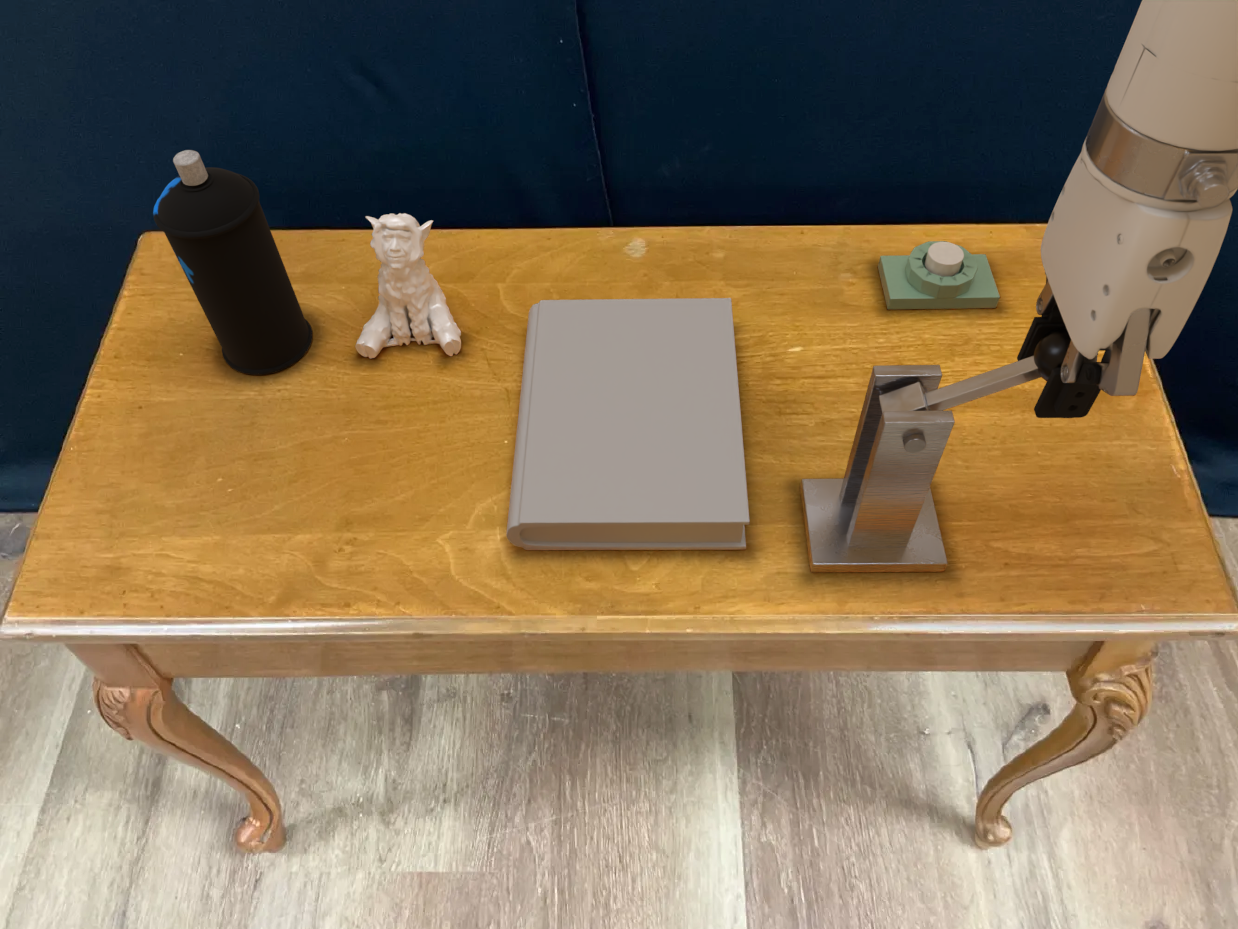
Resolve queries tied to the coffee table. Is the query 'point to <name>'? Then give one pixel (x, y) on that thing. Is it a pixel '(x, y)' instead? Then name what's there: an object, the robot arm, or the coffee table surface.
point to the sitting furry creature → (406, 291)
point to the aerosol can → (233, 266)
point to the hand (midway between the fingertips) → (1050, 386)
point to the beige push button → (944, 259)
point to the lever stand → (882, 487)
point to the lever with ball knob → (984, 379)
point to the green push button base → (936, 282)
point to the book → (629, 428)
